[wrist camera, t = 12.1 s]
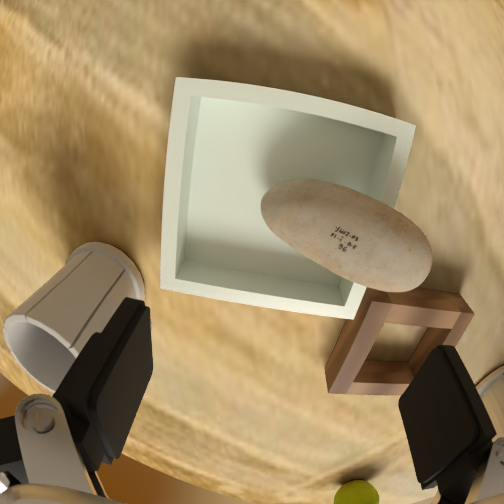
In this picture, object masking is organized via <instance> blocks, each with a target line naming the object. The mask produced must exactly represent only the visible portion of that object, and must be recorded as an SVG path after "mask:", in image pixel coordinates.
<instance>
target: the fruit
mask: <svg viewBox="0 0 504 504" xmlns="http://www.w3.org/2000/svg"><path fill="white" fill-rule="evenodd" d="M334 504H379V495H378V492H377V491H376V489H375V488H374V487H373V486H372V485H371V484H370V483H368V482H367V481H364V480H354V481H350V482H347V483H345V484H344V485H343V486H342V487H341V488H340V489H339V490H338V491H337V493H336V495H335V498H334Z"/></svg>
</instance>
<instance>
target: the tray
mask: <svg viewBox="0 0 504 504" xmlns="http://www.w3.org/2000/svg"><path fill="white" fill-rule="evenodd" d="M415 127H416V125H413V124H410V123H407V122H405V121H402V120H399V119H396V118H393V117H390V116H386V115H383V114H380V113H377V112H374V111H370V110H367V109H363V108H360V107H356V106H352V105H349V104H345V103H341V102H337V101H333V100H329V99H325V98H320V97H316V96H312V95H307V94H302V93H297V92H292V91H287V90H281V89H276V88H270V87H264V86H257V85H251V84H243V83H236V82H227V81H218V80H208V79H196V78H182V77H176V80H175V87H174V95H173V102H172V110H171V118H170V127H169V136H168V146H167V156H166V168H165V181H164V195H163V212H162V234H161V278H160V288H161V289H166V290H171V291H176V292H181V293H186V294H191V295H197V296H202V297H208V298H213V299H219V300H224V301H230V302H236V303H242V304H248V305H254V306H260V307H267V308H273V309H279V310H286V311H293V312H300V313H307V314H314V315H321V316H329V317H336V318H344V319H352V320H354V317H355V315H356V312H357V310H358V308H359V305H360V303H361V300H362V298H363V295H364V293H365V290H366V288H367V287H366V286H363V285H360V284H357V283H355V282H352V281H350V280H348V279H345V278H343V277H341V276H339V275H337V274H335V273H333V272H332V271H330V270H328V269H326V268H325V267H323V266H321V265H320V264H318V263H316V262H314V261H313V260H311V259H309V258H308V257H306V256H304V255H303V254H301V253H300V252H298V251H297V250H295V249H294V248H292V247H291V246H290V245H288V244H287V243H285V242H284V241H283V240H281V239H280V238H279V237H277V236H276V235H275V234H274V233H273V232H272V231H271V230H270V229H269V228H268V226H267V225H266V223H265V221H264V219H263V217H262V214H261V200H262V197H263V196H264V194H265V193H266V192H267V191H268V190H270V189H271V188H273V187H274V186H276V185H278V184H281V183H284V182H287V181H291V180H295V179H316V180H321V181H326V182H331V183H335V184H339V185H342V186H345V187H348V188H351V189H353V190H356V191H358V192H360V193H363V194H365V195H367V196H369V197H372V198H374V199H376V200H378V201H380V202H382V203H384V204H386V205H388V206H389V207H391V208H393V209H394V207H395V204H396V200H397V197H398V194H399V190H400V187H401V183H402V180H403V176H404V172H405V169H406V165H407V161H408V157H409V153H410V149H411V145H412V141H413V136H414V132H415Z"/></svg>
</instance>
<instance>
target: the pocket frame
mask: <svg viewBox="0 0 504 504" xmlns="http://www.w3.org/2000/svg"><path fill="white" fill-rule="evenodd" d="M473 316H474V312H473V311H472V310H471V308H470V307H469V306H468V304H467V303H466V302H465V300H464V299H463V298H462V296H461V295H460V294H455V293H449V292H442V291H436V290H429V289H423V288H417V287H416V288H414V289H412V290H409V291H405V292H386V291H381V290H376V289H372V288H369V287H367V288H366V290H365V293H364V295H363V298H362V300H361V303H360V305H359V308H358V310H357V312H356V315H355V317H354V320H352V319H346V322H345V324H344V327H343V329H342V331H341V334H340V336H339V338H338V341H337V343H336V345H335V348H334V350H333V352H332V354H331V356H330V359H329V361H328V363H327V365H326V367H325V374H326V381H327V389H328V393H335V394H355V395H402V394H403V393H404V391H405V390H406V388H407V387H408V386H409V384H410V383H411V381H412V380H413V378H414V377H415V375H416V374H417V372H418V371H419V369H420V368H421V366H422V365H423V363H424V362H425V360H426V358H427V357H428V355H429V354H430V352H431V351H432V349H435V347H436V346H437V345H452V346H454V347H455V346H456V345H457V343H458V341H459V340H460V338H461V337H462V335H463V333H464V332H465V330H466V328H467V326H468V325H469V323H470V321H471V319H472V318H473ZM384 323H393V324H403V325H413V326H424V327H428V329H427V331H426V333H425V334H424V336H423V338H422V340H421V341H420V343H419V345H418V346H417V348H416V350H415V351H414V353H413V355H412V356H411V358H410V360H409V361H408V362H392V361H375V360H365V359H366V357H367V355H368V354H369V352H370V350H371V348H372V346H373V344H374V342H375V340H376V338H377V336H378V334H379V332H380V330H381V328H382V326H383V324H384Z"/></svg>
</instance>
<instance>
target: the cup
mask: <svg viewBox="0 0 504 504" xmlns="http://www.w3.org/2000/svg"><path fill="white" fill-rule="evenodd" d="M144 287H145V286H144V283H143V280H142V277H141V274H140V272H139V270H138V269H137V267H136V266H135V264H134V263H133V261H132V260H131V259H130V258H129V257H127V256H126V255H125V254H124V253H123V252H122V251H121V250H119V249H117V248H115V247H113V246H112V245H110V244H106V243H102V242H88V243H85V244H83V245H81V246H80V247H78V248H77V249H75V250H74V251H73V252H72V253H71V255H70V256H69V258H68V259H67V261H66V264H65V266H64V267H63V268H62V269H60V270H59V271H58V272H57V273H56V274H55V275H54V276H53V277H52V278H51V279H50V280H49V281H48V282H46V283H45V284H44V285H43V286H42V287H41V288H40V289H38V290H37V291H36V292H35V293H34V294H33V295H32V296H30V297H29V298H28V299H27V300H26V301H25V302H23V303H22V304H21V305H20V306H19V307H18V308H17V309H15V310H14V311H13V312H12V313H11V314H10V315H9V316H7V317H6V320H5V322H4V325H3V329H4V338H5V341H6V343H7V346H8V348H9V350H10V352H11V353H12V355H13V357H14V358H15V360H16V361H17V363H18V364H19V365H20V366H21V367H22V368H23V369H24V371H25V372H26V373H27V372H29V373H28V375H29V376H31V377H32V378H33V379H34V380H35V381H36V382H38V383H39V384H40V385H42V386H43V387H45V388H46V389H48V390H50V391H51V392H53V393H55V391H56V390H57V388H58V386H59V385H60V383H61V382H62V380H63V378H64V377H65V375H66V374H67V372H68V370H69V369H70V367H71V366H72V364H73V363H74V361H75V360H76V358H77V356H78V355H79V353H80V352H81V350H82V349H83V347H84V346H85V344H86V343H87V341H88V340H89V338H90V337H91V336H92V334H93V333H95V332H99V333H101V332H102V331H103V329H104V327H105V326H106V324H107V323H108V321H109V320H110V318H111V317H112V316H113V314H114V313H115V311H116V310H117V308H118V307H119V305H120V304H121V302H122V301H123V299H124V298H125V297H129V298H134V299H138V300H142V301H143V300H144ZM150 323H151V329H152V322H151V319H150Z"/></svg>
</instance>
